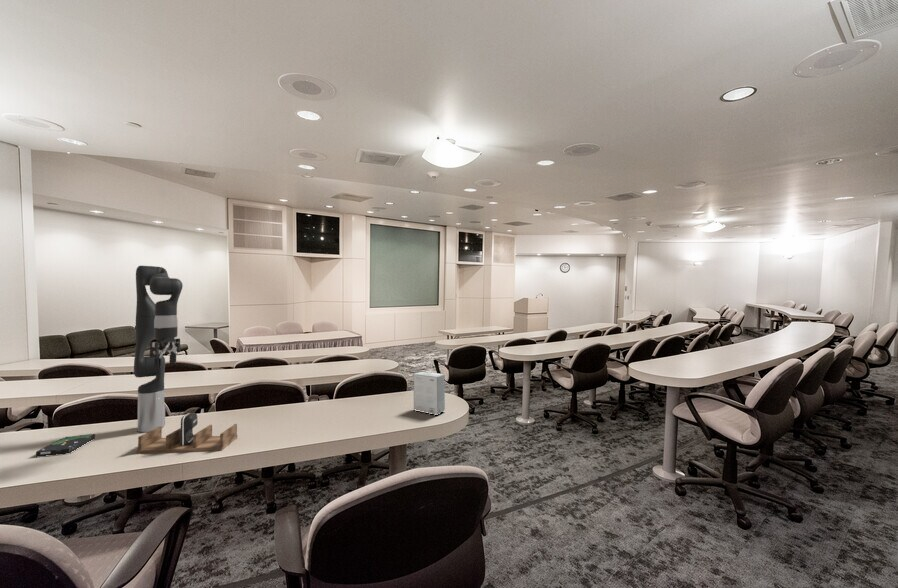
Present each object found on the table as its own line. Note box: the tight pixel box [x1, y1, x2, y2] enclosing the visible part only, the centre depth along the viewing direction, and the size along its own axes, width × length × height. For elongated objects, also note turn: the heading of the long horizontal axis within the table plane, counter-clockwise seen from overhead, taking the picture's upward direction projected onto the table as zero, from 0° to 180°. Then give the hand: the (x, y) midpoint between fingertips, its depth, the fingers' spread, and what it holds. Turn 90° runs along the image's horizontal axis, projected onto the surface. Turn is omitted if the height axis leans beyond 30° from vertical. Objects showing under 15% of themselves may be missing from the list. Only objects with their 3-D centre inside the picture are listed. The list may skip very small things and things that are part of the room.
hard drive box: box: [413, 371, 446, 415], centre depth 184 cm, size 16×8×20 cm, turn 58°
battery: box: [180, 412, 199, 446], centre depth 142 cm, size 7×4×11 cm, turn 16°
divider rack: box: [136, 423, 238, 454], centre depth 142 cm, size 12×31×6 cm, turn 95°
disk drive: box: [35, 433, 96, 458], centre depth 140 cm, size 10×3×15 cm
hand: (165, 365), depth 144 cm, fingers open, 8 cm apart
